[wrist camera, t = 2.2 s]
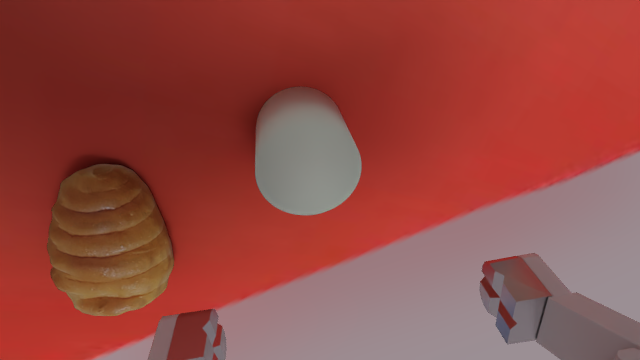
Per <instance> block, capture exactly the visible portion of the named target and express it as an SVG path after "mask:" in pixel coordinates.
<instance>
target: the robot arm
mask: <svg viewBox="0 0 640 360" xmlns="http://www.w3.org/2000/svg"><path fill="white" fill-rule="evenodd" d="M482 272H483V274H484V275H485V277H484V278H483V279H482V280H481V281H480V295H481V299H482V302H483V304H484V306H485V308H486V310H487V311H488V313H490V314H491V315H493V316H495V317H496V318H497V319H496V327H497V328H498V330H499V332H500V333H501V335H502V337H503V338H504V340H505V342H506V343H507V344H513V343H519V342H526V341H533V340H536V342H537V343H539V344H540V345H542V346H543V347H544V348H546V349H547V350H548V351H550V352H551V353H553V354H554V355H555V356H557V357H558V358H559V359H561V360H640V323H639V322H637V321H635V320H633V319H631V318H629V317H626V316H624V315H622V314H620V313H618V312H616V311H614V310H612V309H610V308H608V307H606V306H604V305H602V304H599V303H597V302H595V301H593V300H591V299H589V298H587V297H585V296H583V295H581V294H579V293H577V292H576V293H571V292H570V291H569V290H568V288H567V287H566V286H565V285H564V284H563V283H562V282H561V280H560V279H559V278H558V277H557V276H556V275H555V274H554V273H553V272H552V270H551V269H550V268H549V267H548V266H547V265H546V263H545V262H543V260H542V259H541V258H540V257H539V255H537V254H535V253H531V254H526V255H520V256H513V257H508V258H502V259H497V260H491V261H486V262H484V264H483V266H482ZM217 322H218V315H217V312H216V310H215V309H208V310H202V311H195V312H188V313H181V314H176V315H169V316H163V317H162V318H161V320H160V321H159V323H158V327H157V330H156V333H155V337H154V340H153V344H152V347H151V350H150V354H149V357H148V360H225V359H226V337H225V333H224V330H223V327H222V326H221V325H219V324H217Z"/></svg>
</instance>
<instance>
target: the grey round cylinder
mask: <svg viewBox="0 0 640 360" xmlns="http://www.w3.org/2000/svg"><path fill="white" fill-rule="evenodd" d="M360 175H361V157H360V154H359V151H358V149H357V146H356V144H355V142H354V140H353V138H352V136H351V134H350V132H349V130H348V128H347V125H346V123H345V121H344V119H343V117H342V115H341V113H340V111H339V109H338V107H337V105H336V104H335V102H334V101H333V100H332V99H331V98H330V97H329V96H328V95H326V94H325V93H323V92H321V91H319V90H317V89H314V88H310V87H300V86H299V87H291V88H287V89H284V90H281V91H280V92H278V93H276V94H274V95H273V96H272V97H270V98H269V99H268V100H267V101H266V103H265V104H264V105H263V107H262V108H261V110H260V112H259V114H258V117H257V122H256V150H255V177H256V182H257V185H258V188H259V190H260V192H261V193H262V195H263V196H264V198H265V199H266V200H267V201H268V202H269V203H271V204H272V205H273V206H275V207H276V208H278V209H280V210H282V211H284V212H287V213H291V214H296V215H315V214H319V213H323V212H326V211H329V210H331V209H333V208H335V207H337V206H338V205H340V204H341V203H342V202H344V201H345V200H346V199H347V198H348V197H349V196H350V195H351V194H352V192H353V191H354V189H355V188H356V186H357V184H358V182H359V179H360Z"/></svg>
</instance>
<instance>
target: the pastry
mask: <svg viewBox="0 0 640 360" xmlns="http://www.w3.org/2000/svg"><path fill="white" fill-rule="evenodd" d="M51 211H52V215H53V216H52V221H51V224H50V227H49V238H48V243H47V250H48V253H49V256H50V262H51V264H52V266H53V268H52V269H51V278H52V280H53V281H54V283H55V285H56V287H57V288H58V289H59V290H61V291H63V292H66V293H67V295H68V296H69V297H70V299H71V300H72V302H73V304H74V307H75V308H76V309H78V310H80V311H81V312H83V313H86V314H90V315H95V316H117V315H120V314H122V313H125V312H127V311H130V310H137V309H140V308H142V307H144V306H145V305H147V304H149V303H150V302H151V301H153V300H154V299H155V298H157V297H158V296H159V295H160V294H161V293H163V291H164V290H165V289H166V287H167V283H168V278H169V275H170V273H171V271H172V269H173V266H174V257H173V252H172V244H171V240H170V238H169V236H168V233H167V228H166V226H165V223H164V220H163V218H162V216H161V214H160V212H159V209H158V207H157V205H156V202H155V200H154V198H153V196H152V194H151V192H150V190H149V188H148V186H147V185H146V184H145V183H144V182H143V181H142V180H141V179H140V178H139V176H138V175H137V174H136V173H135V172H134V171H133V170H131V169H129V168H126V167H124V166H122V165H111V164H97V165H93V166H90V167H88V168H85V169H82V170H78V171H77V172H75V173H74V174H72V175H71V176H69V177H68V178H66V179H65V180H63V181H62V182H61V185H60V190H59V194H58V198H57V201H56V203H55V204H54V206H53V207H52V210H51Z"/></svg>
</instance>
